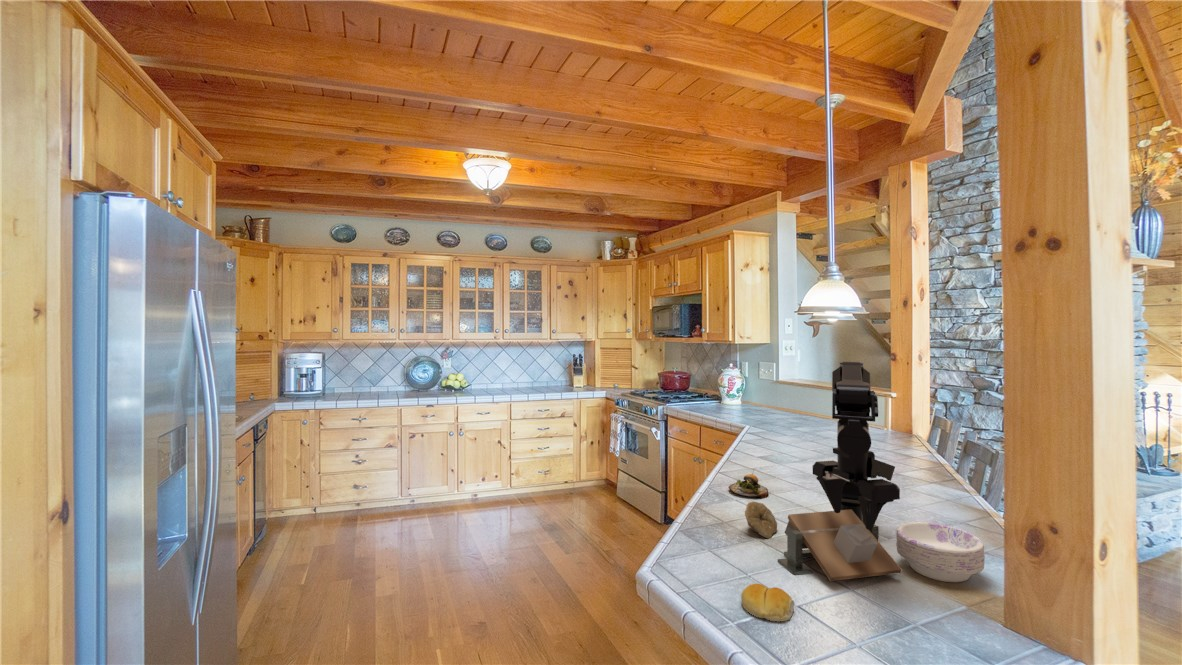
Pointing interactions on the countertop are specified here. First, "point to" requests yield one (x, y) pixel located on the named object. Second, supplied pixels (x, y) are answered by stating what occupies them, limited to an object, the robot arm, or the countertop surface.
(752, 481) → the burger
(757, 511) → the fossil
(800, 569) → the trapdoor frame
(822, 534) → the trapdoor
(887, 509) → the countertop surface
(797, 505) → the countertop surface
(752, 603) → the bread roll
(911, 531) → the paper bowls
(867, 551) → the gray block
